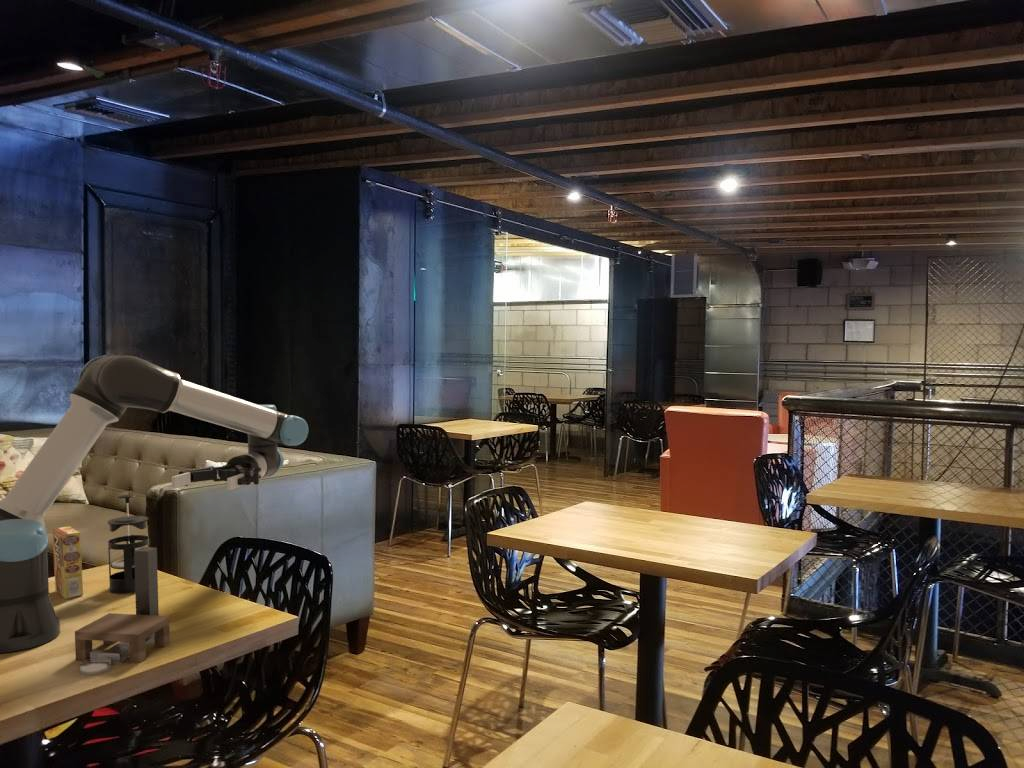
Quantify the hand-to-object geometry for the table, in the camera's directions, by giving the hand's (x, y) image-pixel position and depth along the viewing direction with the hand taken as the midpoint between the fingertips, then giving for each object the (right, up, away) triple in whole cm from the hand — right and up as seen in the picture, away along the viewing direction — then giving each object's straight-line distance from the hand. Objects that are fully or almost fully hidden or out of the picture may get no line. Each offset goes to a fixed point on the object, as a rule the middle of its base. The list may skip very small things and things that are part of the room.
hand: (200, 483), depth 180 cm
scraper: (-4, -29, -26) cm, 39 cm away
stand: (-4, -29, -27) cm, 40 cm away
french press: (-22, -27, +13) cm, 37 cm away
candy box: (-35, -28, +8) cm, 45 cm away
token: (-5, -30, -35) cm, 47 cm away
